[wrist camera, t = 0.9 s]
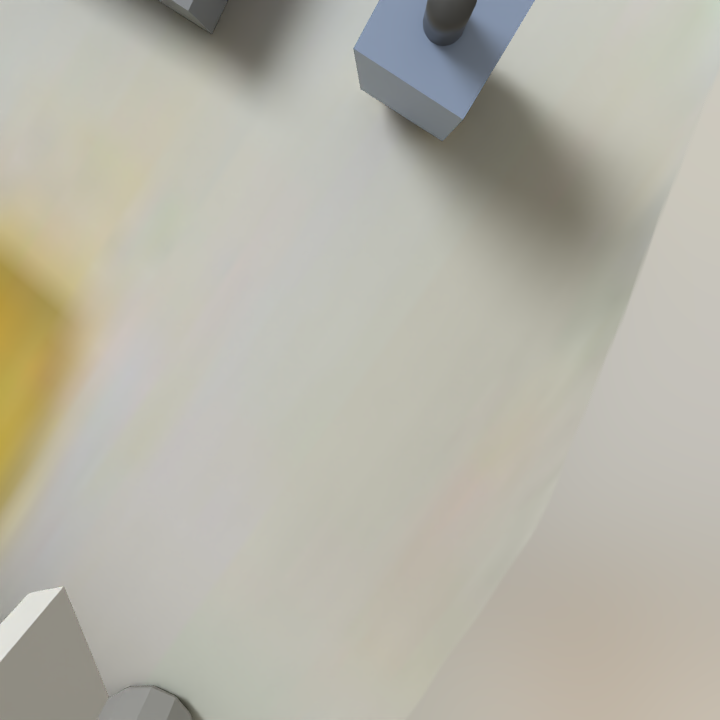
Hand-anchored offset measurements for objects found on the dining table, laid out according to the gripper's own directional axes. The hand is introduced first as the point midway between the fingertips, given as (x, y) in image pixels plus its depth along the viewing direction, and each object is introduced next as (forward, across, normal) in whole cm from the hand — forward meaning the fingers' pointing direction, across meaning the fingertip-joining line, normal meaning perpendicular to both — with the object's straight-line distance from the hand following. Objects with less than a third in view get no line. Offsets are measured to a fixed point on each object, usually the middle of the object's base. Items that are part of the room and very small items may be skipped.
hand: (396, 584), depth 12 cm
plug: (+25, +5, +13) cm, 29 cm away
